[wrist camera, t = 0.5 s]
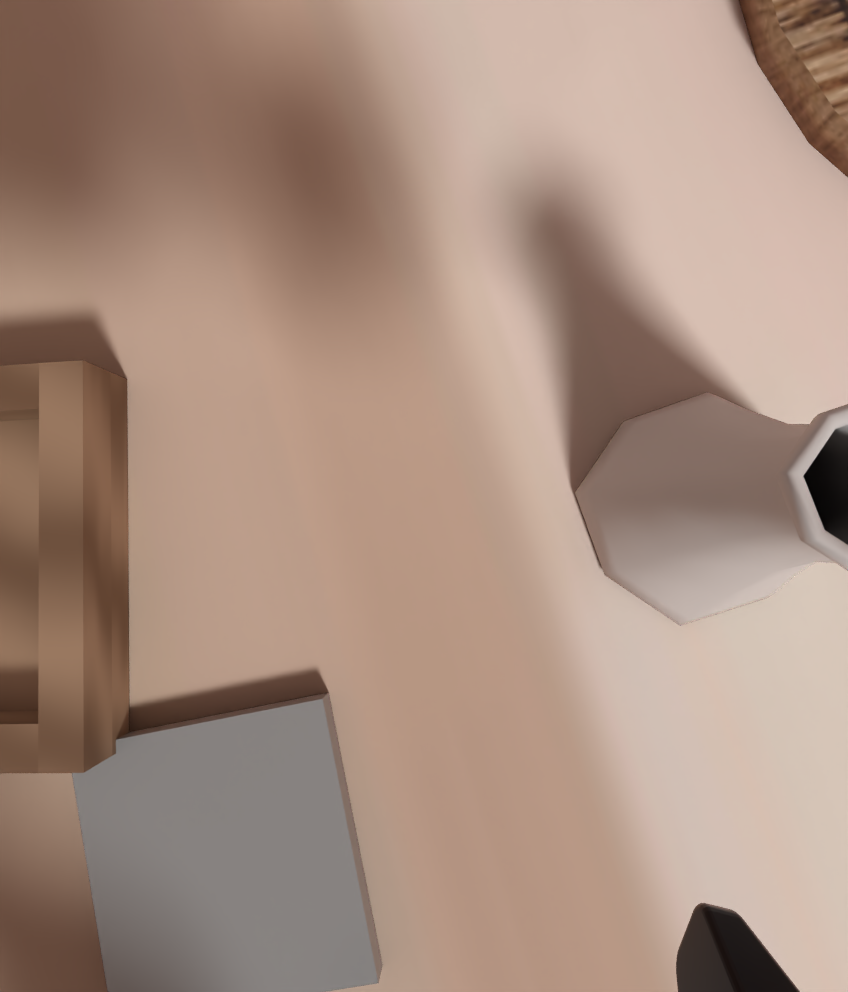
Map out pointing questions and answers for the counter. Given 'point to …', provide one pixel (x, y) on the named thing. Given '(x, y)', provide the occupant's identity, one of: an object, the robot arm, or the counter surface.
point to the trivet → (806, 66)
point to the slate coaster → (228, 856)
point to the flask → (717, 504)
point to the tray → (63, 566)
